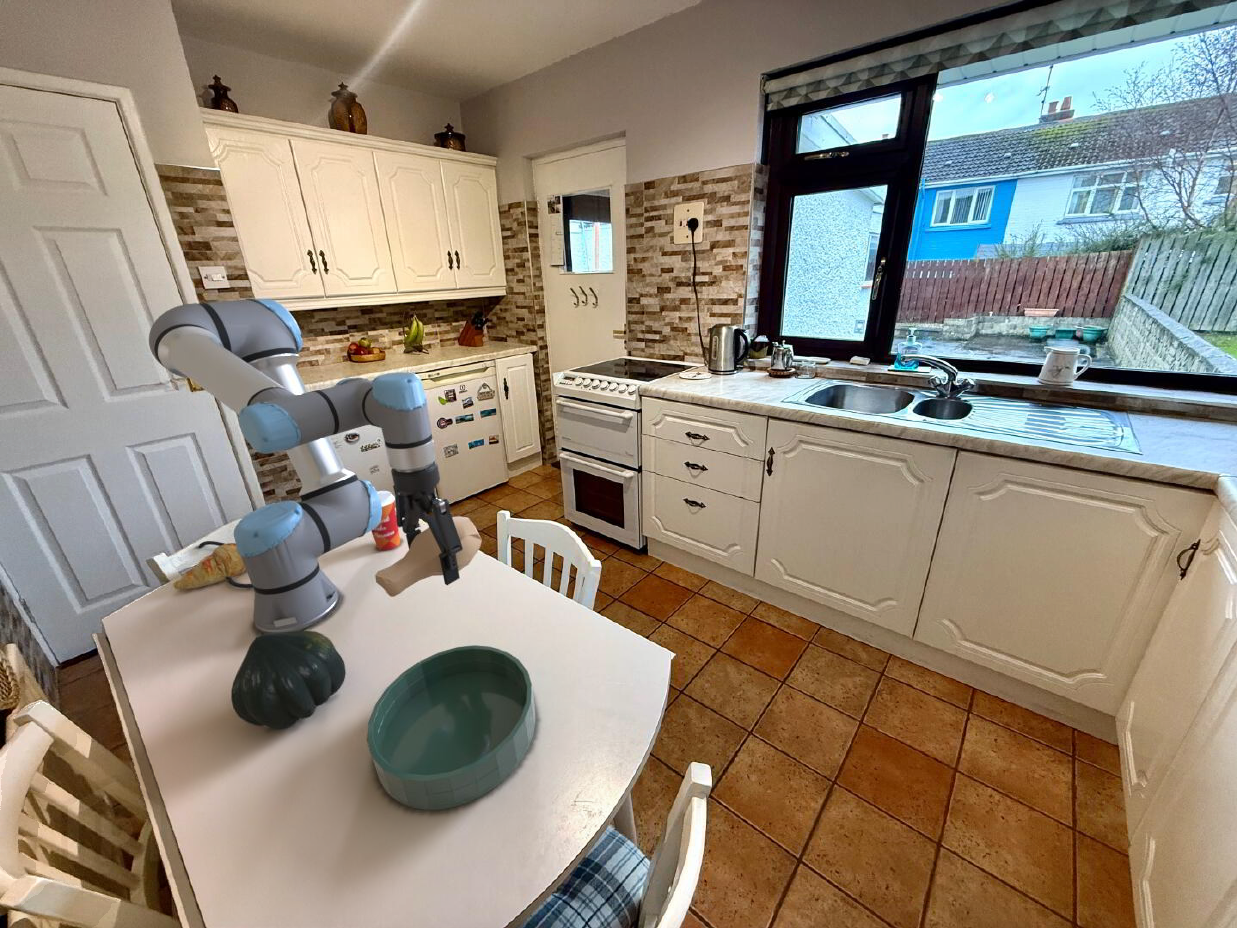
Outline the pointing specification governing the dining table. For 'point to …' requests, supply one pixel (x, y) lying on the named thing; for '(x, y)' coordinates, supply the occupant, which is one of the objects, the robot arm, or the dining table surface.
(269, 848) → the dining table surface
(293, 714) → the squash
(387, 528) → the paper cup
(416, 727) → the bowl
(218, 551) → the croissant
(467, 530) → the squash
